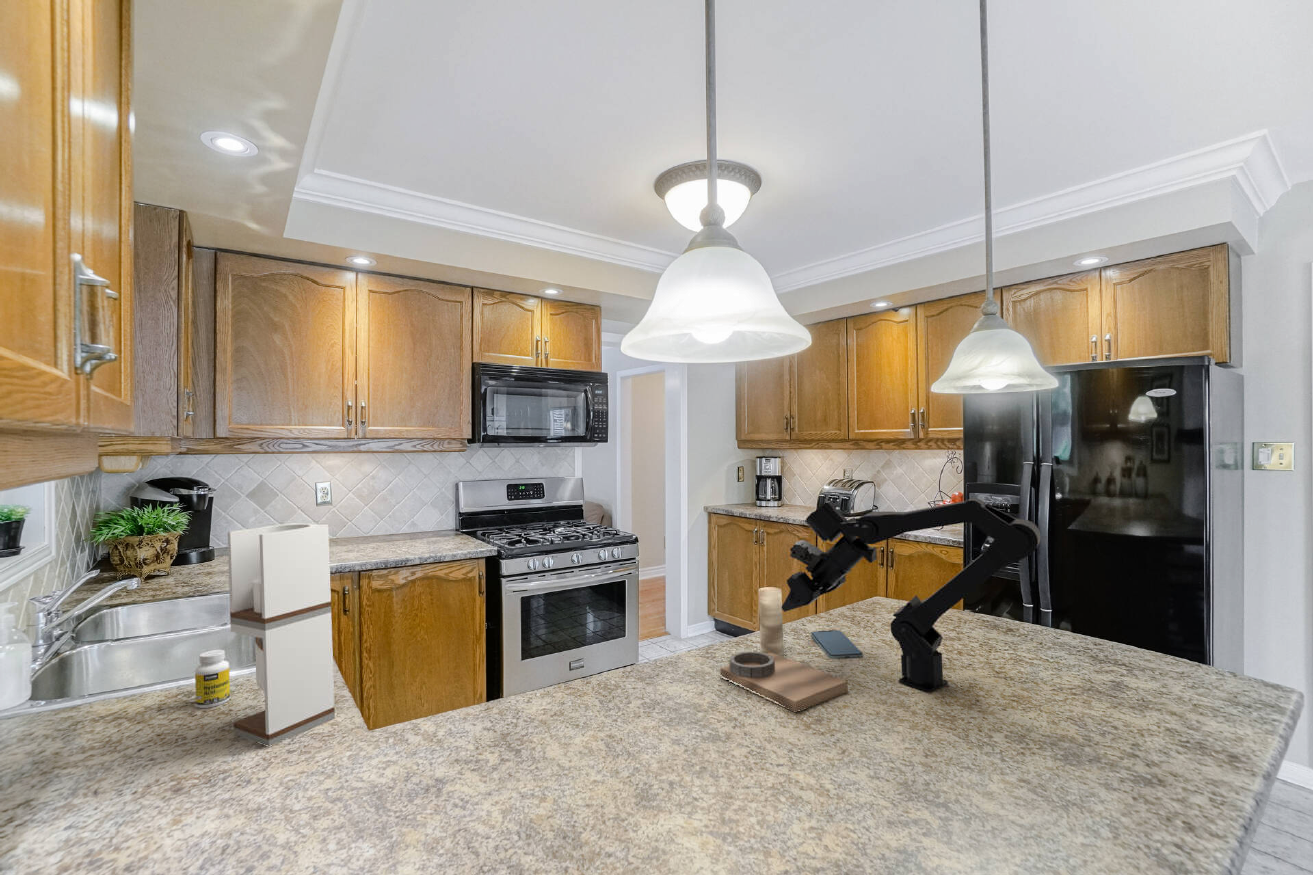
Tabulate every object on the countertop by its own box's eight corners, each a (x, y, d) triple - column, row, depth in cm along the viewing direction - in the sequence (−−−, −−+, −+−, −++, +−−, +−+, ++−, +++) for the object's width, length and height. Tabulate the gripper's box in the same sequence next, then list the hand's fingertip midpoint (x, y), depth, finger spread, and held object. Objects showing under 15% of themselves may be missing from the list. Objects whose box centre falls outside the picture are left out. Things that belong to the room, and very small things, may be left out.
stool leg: (788, 653, 134) (786, 590, 134) (772, 658, 131) (769, 594, 131) (772, 647, 138) (769, 586, 138) (756, 652, 135) (753, 589, 135)
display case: (299, 707, 115) (293, 522, 115) (334, 717, 110) (328, 524, 110) (234, 734, 105) (227, 532, 105) (269, 747, 100) (262, 534, 100)
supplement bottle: (201, 711, 114) (199, 659, 114) (191, 704, 118) (190, 654, 118) (234, 701, 119) (233, 651, 119) (224, 694, 122) (223, 646, 122)
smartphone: (829, 655, 130) (809, 630, 145) (829, 662, 130) (809, 637, 145) (864, 653, 130) (840, 629, 145) (864, 661, 130) (841, 636, 145)
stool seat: (847, 691, 113) (846, 670, 113) (795, 713, 105) (794, 689, 105) (770, 661, 129) (769, 642, 129) (720, 677, 122) (719, 658, 122)
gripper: (830, 523, 136) (786, 567, 142) (794, 535, 121) (747, 584, 127) (866, 562, 131) (819, 605, 137) (834, 579, 116) (782, 627, 123)
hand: (792, 604), depth 131 cm, fingers open, 9 cm apart
